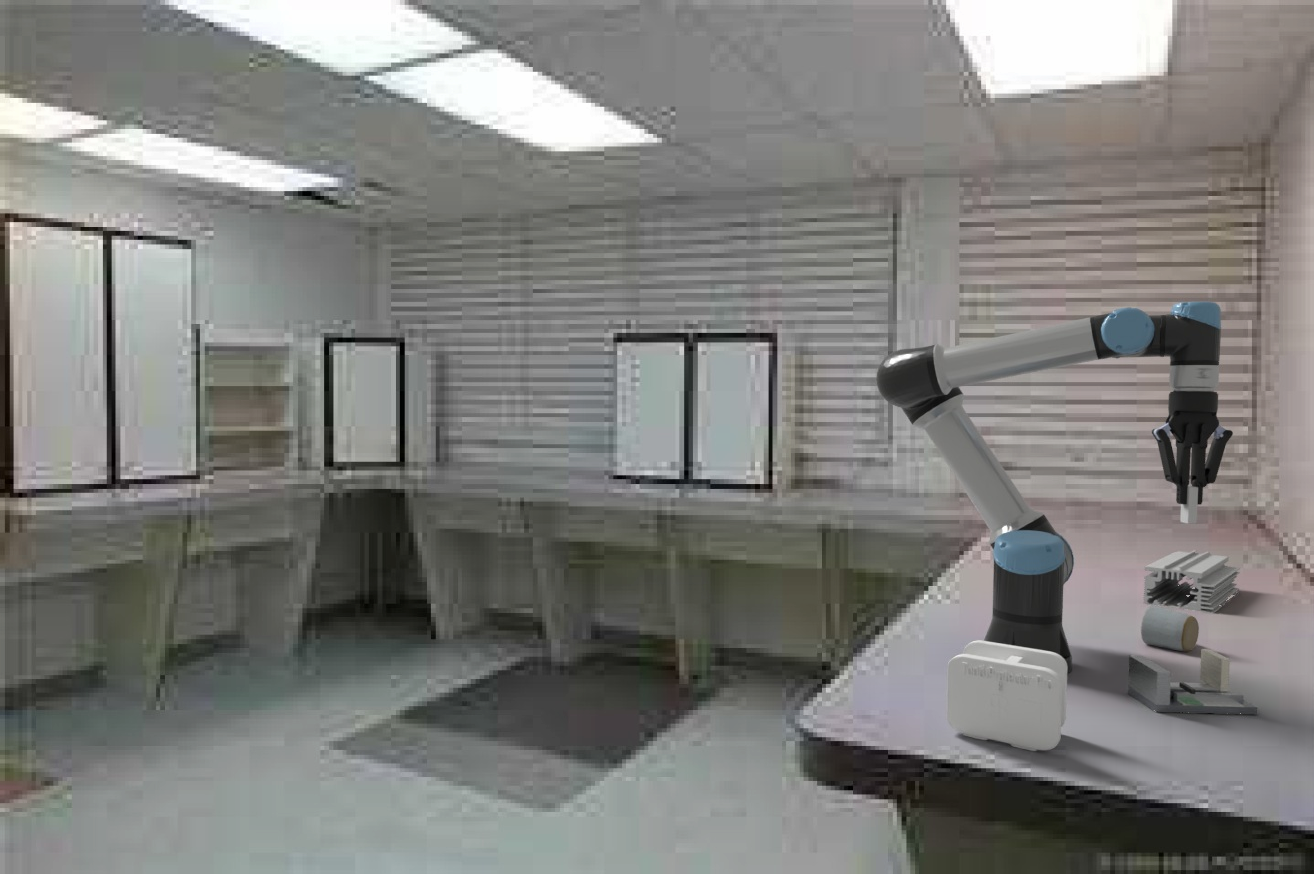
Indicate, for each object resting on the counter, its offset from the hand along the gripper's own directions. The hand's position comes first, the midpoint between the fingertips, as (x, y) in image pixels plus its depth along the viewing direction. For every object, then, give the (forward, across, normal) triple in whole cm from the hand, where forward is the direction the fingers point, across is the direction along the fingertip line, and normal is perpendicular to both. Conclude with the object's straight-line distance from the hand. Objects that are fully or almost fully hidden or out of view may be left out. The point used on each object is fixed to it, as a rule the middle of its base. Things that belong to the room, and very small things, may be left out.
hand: (1188, 522), depth 159 cm
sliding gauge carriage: (+25, -9, -21) cm, 34 cm away
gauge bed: (+26, -9, -20) cm, 34 cm away
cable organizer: (+26, -42, -37) cm, 62 cm away
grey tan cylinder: (+26, +5, +14) cm, 30 cm away
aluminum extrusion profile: (+27, +32, +61) cm, 74 cm away
